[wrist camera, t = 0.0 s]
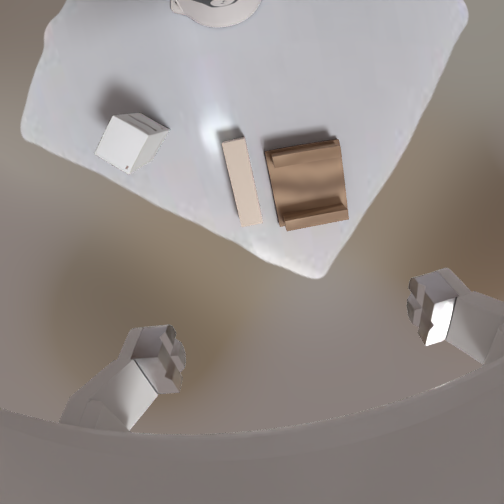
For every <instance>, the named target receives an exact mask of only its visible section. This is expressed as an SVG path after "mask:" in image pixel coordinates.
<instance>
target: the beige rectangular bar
mask: <svg viewBox="0 0 504 504" xmlns="http://www.w3.org/2000/svg"><path fill="white" fill-rule="evenodd" d="M222 147H223V151H224V155H225V160H226V164H227V168H228V172H229V176H230V180H231V185H232V189H233V193H234V197H235V201H236V205H237V210H238V214H239V218H240V222H241V226H242V227H245V226H250V225H255V224H260V223H263V220H262V214H261V209H260V204H259V200H258V195H257V190H256V186H255V181H254V176H253V172H252V167H251V162H250V158H249V153H248V149H247V144H246V140H245V137H241V138H236V139H232V140H227V141H223V143H222Z"/></svg>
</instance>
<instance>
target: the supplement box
mask: <svg viewBox="0 0 504 504" xmlns="http://www.w3.org/2000/svg"><path fill="white" fill-rule="evenodd" d="M169 131H170V129H168V128H166V127H164V126H162V125H160V124H159V123H157V122H155V121H153V120H152V119H150V118H148V117H147V116H145V115H143V114H142V113H131V114H121V115H113V116H112V118H111V120H110V122H109V124H108V126H107V128H106V130H105V132H104V134H103V136H102V138H101V140H100V142H99V144H98V146H97V148H96V151H95V153H94V154H95V155H96V156H98V157H99V158H101V159H103V160H104V161H106V162H108V163H109V164H111V165H112V166H114V167H116V168H118V169H120V170H121V171H123V172H125V173H126V174H128V175H130V174H132V173H133V172H135V171H136V170H138V169H140V168H141V167H143V166H145V165H146V164H148V163H150V162H152V161H153V159H154V157H155V156H156V154H157V152H158V150H159V149H160V147H161V145H162V143H163V142H164V140H165V138H166V136H167V135H168V133H169Z"/></svg>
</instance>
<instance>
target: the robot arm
mask: <svg viewBox="0 0 504 504" xmlns="http://www.w3.org/2000/svg"><path fill="white" fill-rule="evenodd" d="M261 1H262V0H171V9H172V11H173V12H174V13H177V14H181V15H186V16H188V17H190V18H191V19H192V20H194V21H195V22H197V23H199V24H201V25H204V26H208V27H228V26H232V25H236V24H238V23H241V22H243V21H244V20H246V19H247V18H249V17H250V16H251V15H252V14H253V13H254V12H255V11H256V10H257V8H258V6H259V4H260V2H261ZM176 2H177V3H176ZM409 290H410V291H411V295H410V296H409V297H408V299H407V311H408V316H409V319H410V321H411V323H412V324H413V325H415V326H417V327H419V329H418V334H419V336H420V338H421V339H422V341H423V343H424V344H425V346H427V345H430V344H433V343H436V342H440V341H443V340H446V341H447V342H449V343H451V344H452V345H454V346H456V347H457V348H458V349H460V350H461V351H463V352H465V353H466V354H468V355H469V356H471V357H473V358H474V359H475V360H477V361H479V362H480V363H482V364H483V366H482V367H481V368H479V369H477V370H475V371H473V372H470V373H468V374H466V375H464V376H461V377H459V378H457V379H455V380H452V381H450V382H448V383H445V384H443V385H440V386H438V387H435V388H433V389H430V390H427V391H425V392H423V393H419V394H417V395H414V396H411V397H408V398H405V399H402V400H399V401H396V402H393V403H390V404H387V405H383V406H379V407H376V408H373V409H369V410H365V411H361V412H358V413H354V414H350V415H345V416H341V417H337V418H332V419H327V420H322V421H317V422H313V423H307V424H301V425H295V426H288V427H281V428H274V429H266V430H257V431H247V432H235V433H219V434H192V435H191V434H190V435H189V434H185V435H182V434H180V435H179V434H176V435H175V434H174V435H173V434H145V433H132V432H130V431H129V430H130V429H131V428H132V427H133V425H134V424H135V423H136V422H137V420H138V419H139V418H140V417H141V416H142V414H143V413H144V412H145V411H146V409H147V408H148V407H149V406H150V404H151V403H152V402H153V401H154V399H155V398H156V397H157V396H158V394H166V393H179V392H180V389H181V384H182V378H183V377H182V376H181V374H180V372H181V371H182V370H183V369H184V368H185V363H186V358H185V357H186V356H185V351H184V347H183V345H182V343H181V342H180V341H178V340H176V339H175V337H176V331H175V330H174V328H173V326H171V325H161V326H152V327H141V328H133V329H131V330H130V331H129V334H128V336H127V338H126V340H125V343H124V345H123V347H122V350H121V352H120V354H119V357H118V359H117V360H114V361H112V362H111V363H110V364H109V365H108V366H106V367H105V368H104V369H103V370H102V371H100V372H99V373H98V374H97V375H96V376H94V377H93V378H92V379H91V380H90V381H88V382H87V383H86V384H85V385H84V386H82V387H81V388H80V389H79V390H78V391H77V392H75V393H74V394H73V395H72V396H71V397H70V398H69V400H68V402H67V404H66V407H65V409H64V411H63V414H62V416H61V418H60V421H59V423H57V422H52V421H48V420H43V419H39V418H35V417H30V416H27V415H23V414H19V413H15V412H11V411H9V410H6V409H3V408H0V504H504V302H502V301H500V300H497V299H494V298H492V297H489V296H486V295H484V294H481V293H478V292H476V291H474V292H471V291H470V290H469V289H468V288H467V287H466V286H465V284H464V283H463V282H462V281H461V280H460V279H459V278H458V277H457V276H456V275H455V274H454V273H453V272H452V271H451V270H450V269H449V268H443V269H440V270H437V271H435V272H432V273H429V274H424V275H421V276H417V277H413V278H411V279H410V281H409Z"/></svg>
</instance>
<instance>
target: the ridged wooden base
mask: <svg viewBox="0 0 504 504" xmlns="http://www.w3.org/2000/svg"><path fill="white" fill-rule="evenodd" d="M265 156H266V161H267V165H268V170H269V175H270V180H271V185H272V190H273V195H274V199H275V205H276V210H277V215H278V220H279V225H280V227H281V226H285V227H286V230H287V231H290V230H296V229H301V228H306V227H311V226H316V225H321V224H327V223H332V222H337V221H342V220H348V219H349V216H348V209H347V199H346V189H345V181H344V172H343V165H342V155H341V148H340V143H339V140H338V139H335V140H328V141H321V142H314V143H308V144H302V145H296V146H291V147H285V148H280V149H274V150H269V151H265Z"/></svg>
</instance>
